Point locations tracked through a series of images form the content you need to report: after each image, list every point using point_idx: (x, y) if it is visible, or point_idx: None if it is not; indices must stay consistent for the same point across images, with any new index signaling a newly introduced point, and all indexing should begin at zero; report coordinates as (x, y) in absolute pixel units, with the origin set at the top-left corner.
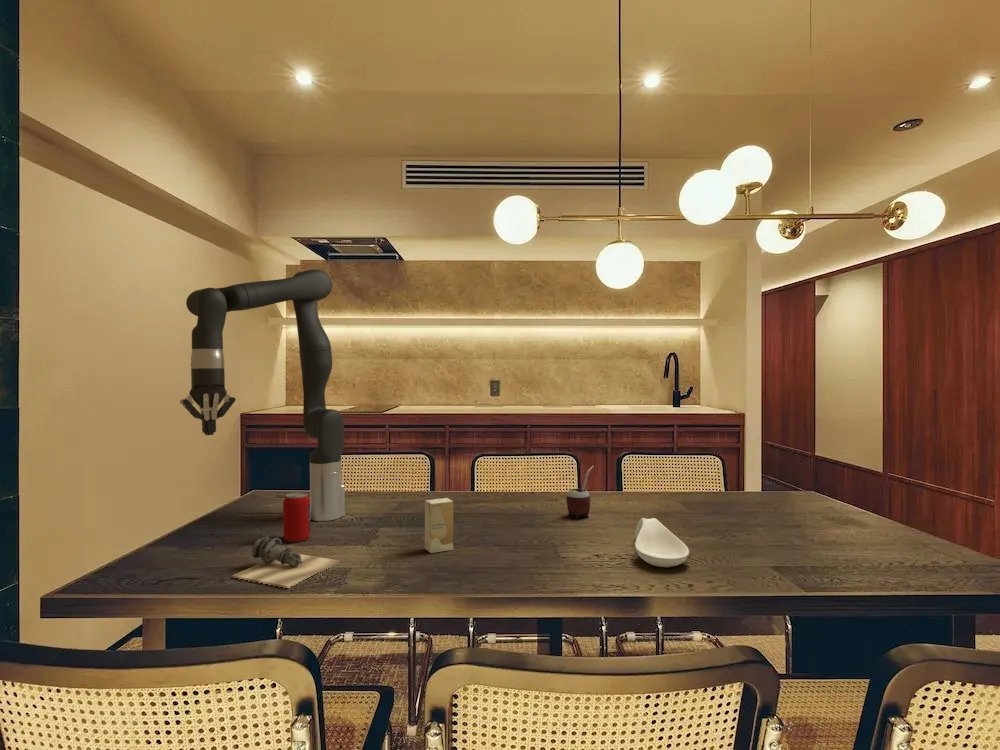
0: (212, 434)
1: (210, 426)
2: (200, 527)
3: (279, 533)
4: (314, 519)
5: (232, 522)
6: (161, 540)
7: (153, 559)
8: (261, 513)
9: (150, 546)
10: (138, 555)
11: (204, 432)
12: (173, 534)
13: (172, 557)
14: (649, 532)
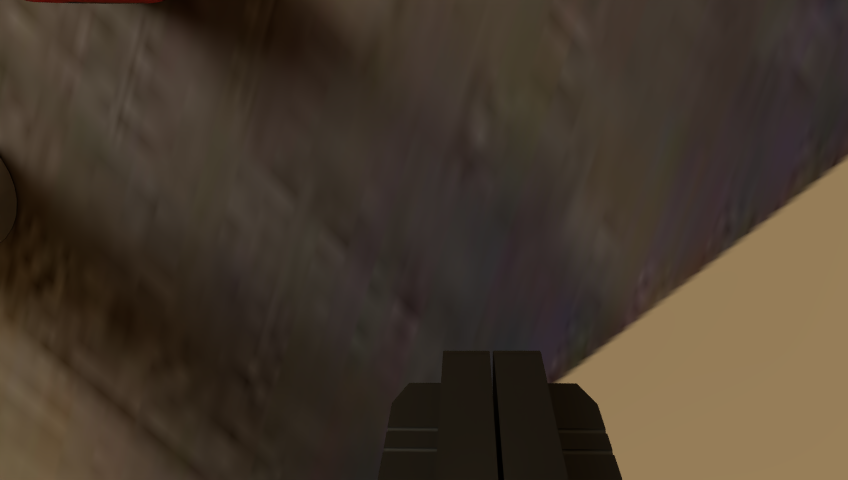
0: (459, 354)
1: (495, 439)
2: None
3: (187, 102)
4: (4, 172)
5: (299, 407)
6: (576, 365)
7: (686, 134)
8: (172, 448)
9: (631, 317)
10: (703, 233)
11: (584, 395)
12: None
13: (627, 102)
14: None
